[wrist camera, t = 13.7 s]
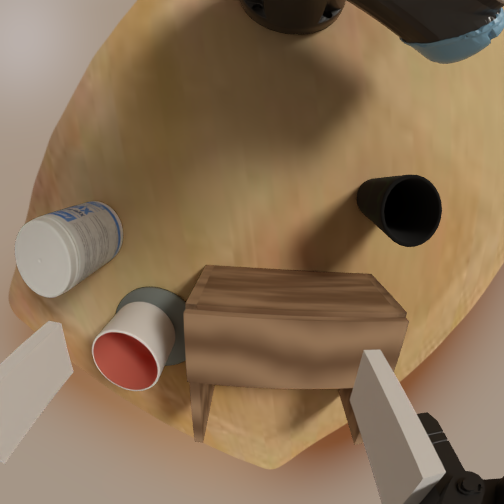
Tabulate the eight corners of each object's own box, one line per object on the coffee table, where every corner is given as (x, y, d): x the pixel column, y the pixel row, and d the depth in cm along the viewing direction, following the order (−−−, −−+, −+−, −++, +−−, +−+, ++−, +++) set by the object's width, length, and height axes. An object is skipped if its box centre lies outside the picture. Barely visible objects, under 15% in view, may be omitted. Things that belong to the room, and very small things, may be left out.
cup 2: (388, 232, 42) (427, 255, 31) (342, 215, 42) (370, 234, 30) (405, 182, 40) (450, 190, 29) (359, 162, 40) (394, 163, 28)
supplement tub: (110, 190, 42) (51, 203, 28) (135, 249, 44) (86, 285, 30) (64, 215, 43) (3, 237, 29) (87, 270, 45) (34, 307, 31)
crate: (205, 264, 44) (183, 307, 31) (371, 274, 44) (410, 316, 30) (207, 386, 50) (193, 446, 37) (344, 390, 50) (363, 448, 36)
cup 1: (114, 296, 45) (84, 325, 36) (174, 300, 45) (154, 334, 36) (123, 350, 48) (100, 385, 38) (179, 356, 48) (164, 395, 38)
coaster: (112, 282, 46) (110, 284, 45) (199, 290, 45) (198, 292, 45) (122, 357, 49) (121, 359, 49) (200, 368, 49) (200, 370, 48)
